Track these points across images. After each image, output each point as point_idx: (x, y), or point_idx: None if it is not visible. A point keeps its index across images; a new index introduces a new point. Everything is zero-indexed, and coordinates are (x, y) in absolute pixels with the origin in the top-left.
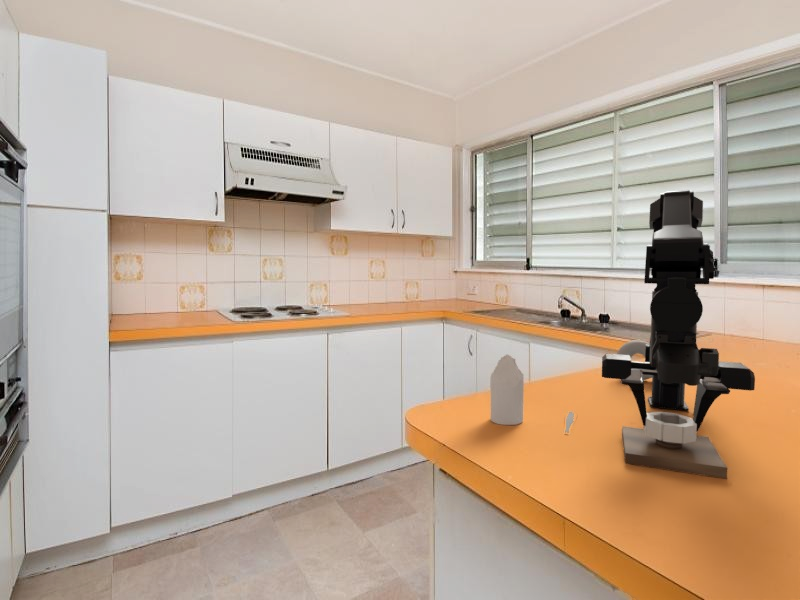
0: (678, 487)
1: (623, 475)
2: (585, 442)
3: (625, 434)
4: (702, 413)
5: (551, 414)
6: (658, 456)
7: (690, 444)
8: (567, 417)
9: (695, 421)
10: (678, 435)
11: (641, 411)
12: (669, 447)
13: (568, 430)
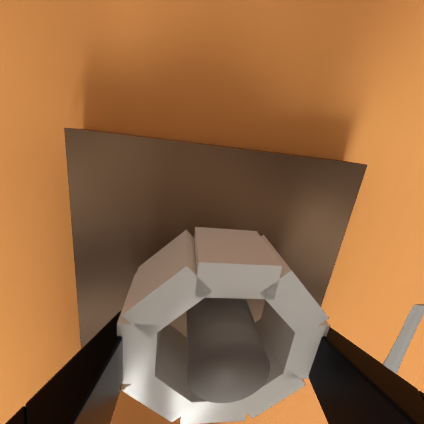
0: (246, 8)
1: (380, 63)
2: (393, 274)
3: None
4: (61, 390)
5: None
6: (273, 165)
7: None
8: None
9: (118, 344)
10: (209, 241)
11: (365, 358)
12: None
13: (407, 331)
